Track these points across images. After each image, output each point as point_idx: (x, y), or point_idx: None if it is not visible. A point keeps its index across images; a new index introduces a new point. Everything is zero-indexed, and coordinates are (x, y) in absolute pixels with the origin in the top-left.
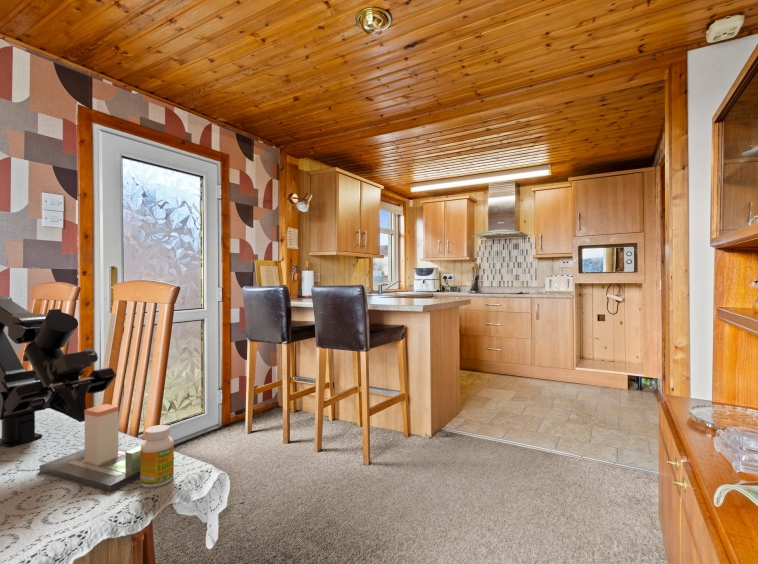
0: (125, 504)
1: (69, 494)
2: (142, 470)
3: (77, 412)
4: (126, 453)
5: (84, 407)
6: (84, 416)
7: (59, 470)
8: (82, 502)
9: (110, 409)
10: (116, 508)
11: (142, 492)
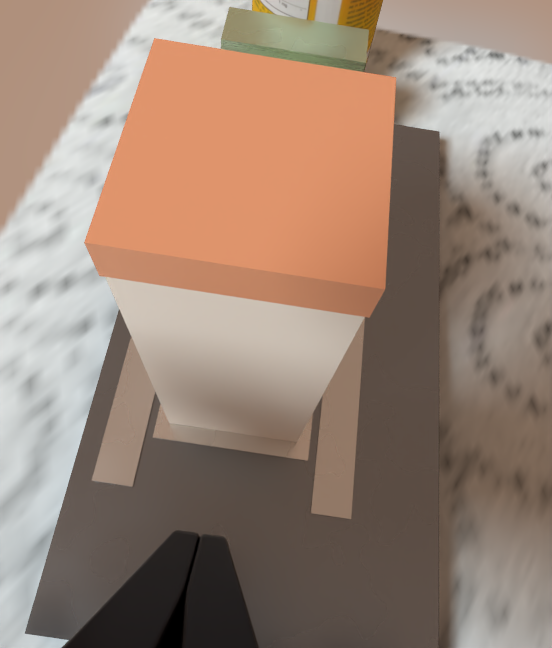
0: (461, 65)
1: (501, 277)
2: (375, 25)
3: (242, 614)
4: (364, 63)
5: (101, 634)
6: (187, 546)
7: (433, 471)
8: (514, 187)
9: (257, 61)
10: (488, 73)
11: (386, 65)
